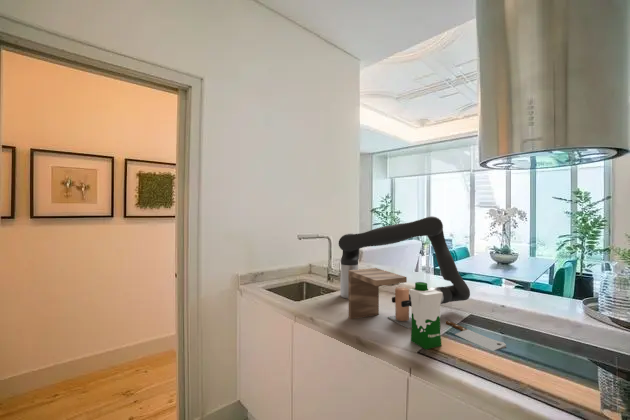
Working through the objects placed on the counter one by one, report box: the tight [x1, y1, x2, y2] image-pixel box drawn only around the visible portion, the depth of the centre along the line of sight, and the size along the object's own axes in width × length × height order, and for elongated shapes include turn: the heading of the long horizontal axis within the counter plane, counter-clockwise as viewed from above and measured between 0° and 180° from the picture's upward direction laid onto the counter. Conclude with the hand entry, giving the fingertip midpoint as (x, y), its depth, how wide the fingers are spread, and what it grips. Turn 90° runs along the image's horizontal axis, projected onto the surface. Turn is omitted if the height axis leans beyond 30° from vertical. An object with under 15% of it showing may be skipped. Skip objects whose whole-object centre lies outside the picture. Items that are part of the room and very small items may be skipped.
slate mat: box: [387, 315, 412, 329], centre depth 120 cm, size 12×8×1 cm, turn 23°
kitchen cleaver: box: [445, 320, 507, 352], centre depth 107 cm, size 24×1×10 cm
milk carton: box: [408, 281, 443, 350], centre depth 100 cm, size 9×9×20 cm
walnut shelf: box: [348, 267, 408, 320], centre depth 118 cm, size 20×14×20 cm
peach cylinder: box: [394, 287, 410, 321], centre depth 120 cm, size 5×5×12 cm
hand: (397, 302), depth 119 cm, fingers closed on peach cylinder, 5 cm apart
